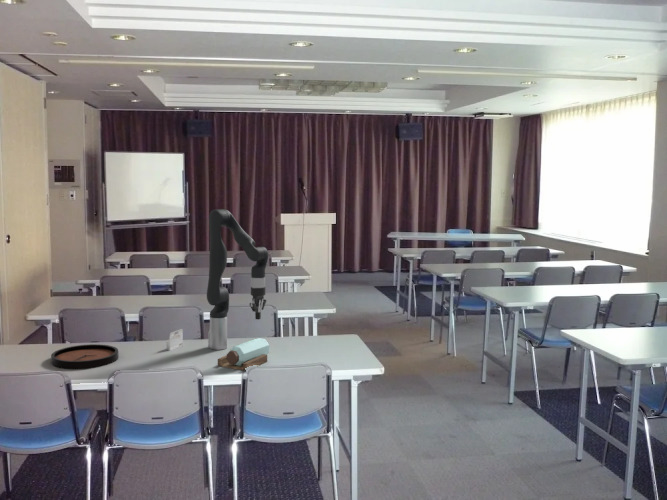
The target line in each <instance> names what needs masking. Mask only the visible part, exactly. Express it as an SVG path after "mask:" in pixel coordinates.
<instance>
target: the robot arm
mask: <svg viewBox="0 0 667 500" xmlns="http://www.w3.org/2000/svg"><path fill="white" fill-rule="evenodd" d="M208 226H209V227H208V228H209V262H208V263H209V266H208V267H209V268H208V283H207V288H206V300H207V303H208V304H209V305H210V306H214V307H213V309H211V310H210V311H209V330H208V332H207V333H208V336H207V337H208V338H207V339H208V341H207V344H208V345H207V348H208V349H211V350H218V351H219V350H225V349H227V348H228V312H229V307H230V293H229V291H228V289H227V288H226V287H225V286H220V285H221V279H222V276H223V274H224V272H225V270H226V267H227V263H228V250H227V247H226V245H225V243H224V241H223V238H222V228H224V227H225V228H227V229H229V230H230V231H231V232H232V235H233V237H234V238H233V239H234V241H235V242H236V244H238V245H239V246H240V247H241V248H242V250H243V251H244V253H245V255H246V256H247V258H248V259H249V260H250V261H252V262H256V263H255V264H254V265H253V266H251V270H250V272H251V274H250V277H251V279H250V296H252V298H251V299H252V302H249V306H250V309H251V311H252V312H254V315H255V316H254V317H255V320H261V318H262V317H261V314H262V313H261V312H262V311H263V310H264V308H265V306H266V303H267V299H265V297H264V296H266V284H267V283H266V268H267V264H268V259H269V251H268V249H267V248H266V247H264V246H257V247H255V246H256V241H255V240H254V239H253V238H252V237H251V236H250V235H249V234H248V233H247V232H246V231H245V230H244V229H243V228H242V227H241V225H240V224H239V222H238V221H237V220H236V218H235V216H234V215H233V214H232V213H231V212H230V211H229V210H228V209H223V208H222V209H212V210H211V211H210V213H209V218H208Z"/></svg>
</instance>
